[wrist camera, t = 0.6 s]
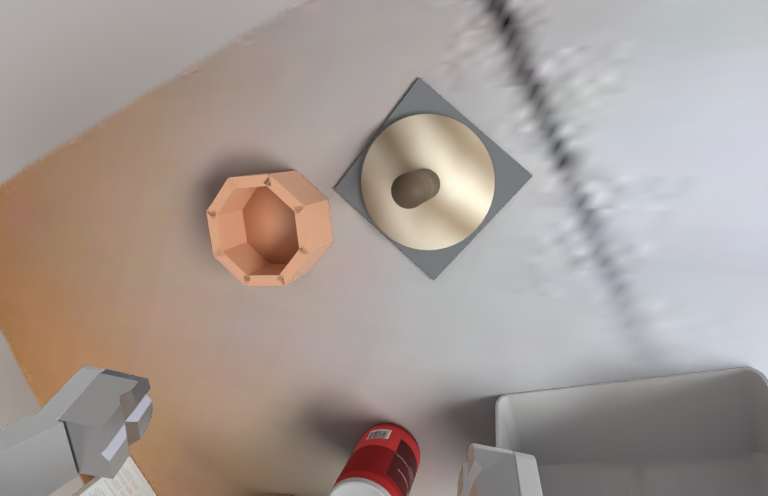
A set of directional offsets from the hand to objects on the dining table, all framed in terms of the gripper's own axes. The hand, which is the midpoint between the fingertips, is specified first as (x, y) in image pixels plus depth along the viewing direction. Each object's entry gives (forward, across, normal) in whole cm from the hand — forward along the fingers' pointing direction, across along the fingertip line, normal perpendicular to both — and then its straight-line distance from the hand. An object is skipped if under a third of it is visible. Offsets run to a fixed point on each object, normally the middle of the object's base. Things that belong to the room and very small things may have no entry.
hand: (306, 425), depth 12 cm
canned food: (+31, -5, +41) cm, 52 cm away
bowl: (+41, +12, +18) cm, 46 cm away
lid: (+39, -3, +9) cm, 40 cm away
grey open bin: (+28, -30, +30) cm, 51 cm away
